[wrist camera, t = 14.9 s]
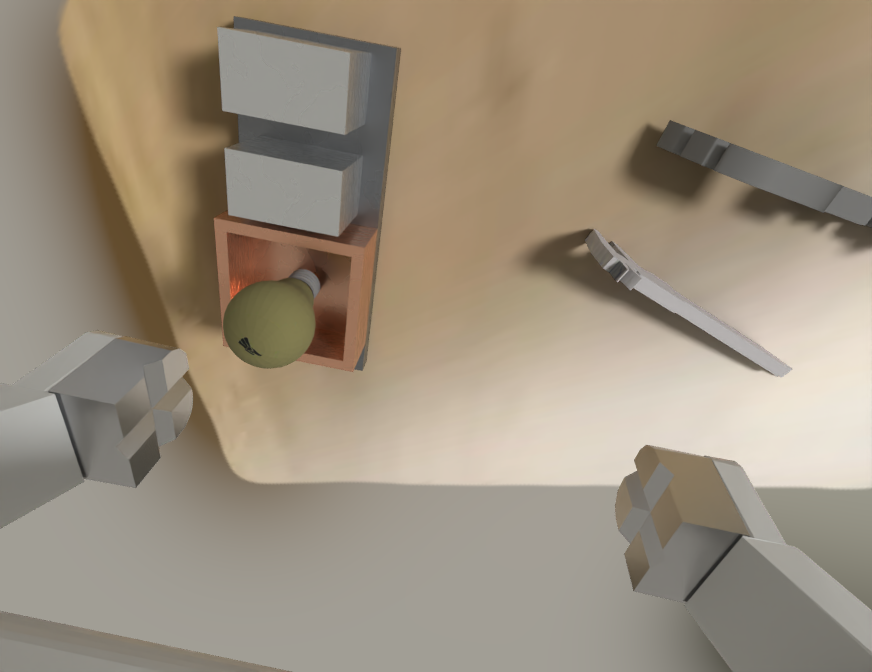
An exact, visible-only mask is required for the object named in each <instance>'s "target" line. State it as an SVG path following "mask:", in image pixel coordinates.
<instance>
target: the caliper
mask: <svg viewBox="0 0 872 672" xmlns="http://www.w3.org/2000/svg"><path fill="white" fill-rule="evenodd" d="M585 242H586V244H587V246H588V248H589V250H590V252H591V254H592V255H593V256H594V258H595V259H596V260H597V261H598V263H599V264H600V265H601V267H602V268H603V269H605V270H606V271H608V272H609V273H610V274H611V275H612V277H613V278H614V279H615V280H616V282H619V280H620V281H621V282H622V283H623V284H624V285H625V286H626V287H627V288H628V289H629V290H632V289H633V288H634V289H636V290H637V291H639V292H641V293H642V294H644V295H646V296H647V297H649V298H650V299H652V300H654V301H655V302H657V303H658V304H660V305H662V306H663V307H665V308H666V309H668V310H670V311H671V312H673V313H674V314H675V313H677V314H679V315H680V316H682V317H683V318H685V319H686V320H688V321H690V322H691V323H693V324H694V325H696V326H698V327H699V328H701V329H702V330H704V331H706V332H707V333H709V334H710V335H712V336H713V337H715V338H717V339H718V340H720V341H721V342H723V343H725V344H726V345H728V346H729V347H731V348H733V349H734V350H736V351H737V352H739V353H740V354H742V355H744V356H745V357H747V358H748V359H750V360H752V361H753V362H755V363H756V364H758V365H760V366H761V367H763V368H764V369H766V370H768V371H769V372H771V373H772V374H774V375H775V376H780V377H783V376H784V375H786V374H787V373H788V372H790V371H791V370H792V368H791V367H789V366H788V365H786V364H785V363H783V362H782V361H780V360H779V359H778V358H777V357H775V356H774V355H772V354H771V353H770V352H768V351H767V350H765V349H764V348H762V347H761V346H759V345H758V344H756V343H755V342H753V341H752V340H750V339H748V338H747V337H745V336H744V335H742V334H741V333H739V332H738V331H736V330H735V329H733V328H732V327H730V326H728V325H727V324H725V323H724V322H722V321H721V320H719V319H718V318H716V317H715V316H713V315H712V314H710V313H709V312H707V311H706V310H704V309H702V308H701V307H699V306H698V305H696V304H695V303H693V302H692V301H690V300H689V299H687V298H686V297H684V296H683V295H681V294H680V293H678V292H676V291H675V290H674V289H673V288H672V287H671V286H670V285H669V284H668V283H666V282H665V281H663V280H661V279H660V278H658V277H657V276H655V275H654V274H652V273H650V272H649V271H647V270H644V269H643V268H641V267H640V266H639V265H638V264H636V263H635V262H634V261H633V260H632V259H631V258H630V257H629V256H628V255H627V254H626V253H625V252H624V251H623V250H622V249H621V248H620V247H619V246H618V245H617V244H616V243H614V242H613V241H612V242H611V243H610V244H609V243H608V242H607V241H606V240H605V239H604V238H603V236H602V235H601V234H600V233H599V232H598V231H597V230H595V229H594V230H593V231H592V232H591V233H590V234H589V236H588V237H587V238H586V239H585Z"/></svg>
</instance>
